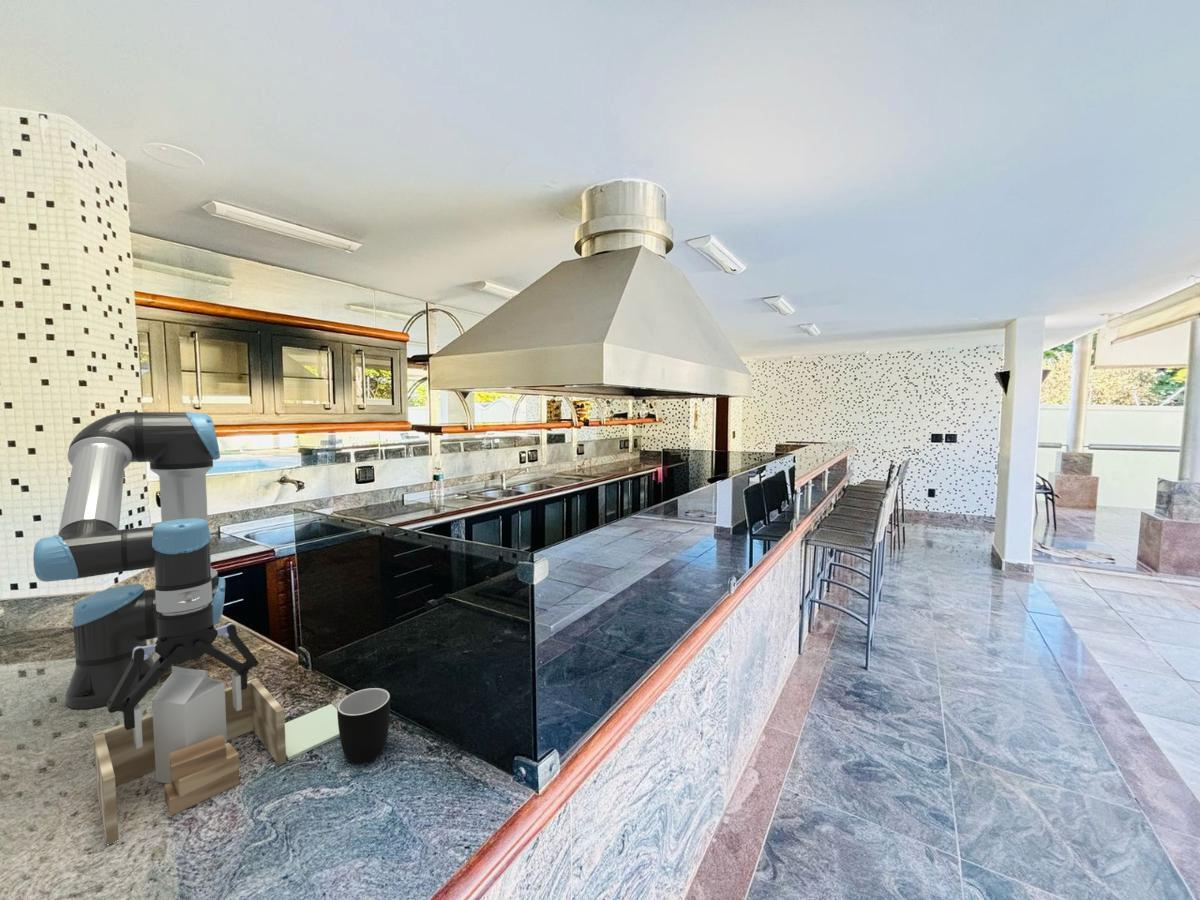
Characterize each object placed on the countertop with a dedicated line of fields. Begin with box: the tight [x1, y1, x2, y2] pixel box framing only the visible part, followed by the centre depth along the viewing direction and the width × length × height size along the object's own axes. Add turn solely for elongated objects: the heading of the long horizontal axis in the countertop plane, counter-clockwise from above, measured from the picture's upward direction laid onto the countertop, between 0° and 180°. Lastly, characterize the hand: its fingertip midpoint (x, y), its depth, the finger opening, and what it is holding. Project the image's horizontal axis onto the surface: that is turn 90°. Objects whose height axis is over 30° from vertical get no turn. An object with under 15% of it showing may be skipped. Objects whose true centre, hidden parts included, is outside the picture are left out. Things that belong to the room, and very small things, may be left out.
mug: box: [336, 687, 391, 764], centre depth 92 cm, size 12×9×10 cm
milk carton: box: [151, 665, 228, 785], centre depth 86 cm, size 7×7×19 cm
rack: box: [92, 677, 287, 845], centre depth 85 cm, size 17×23×10 cm
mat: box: [285, 703, 340, 761], centre depth 98 cm, size 12×12×1 cm
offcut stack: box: [163, 734, 240, 817], centre depth 82 cm, size 6×9×8 cm, turn 140°
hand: (190, 725), depth 86 cm, fingers open, 13 cm apart
